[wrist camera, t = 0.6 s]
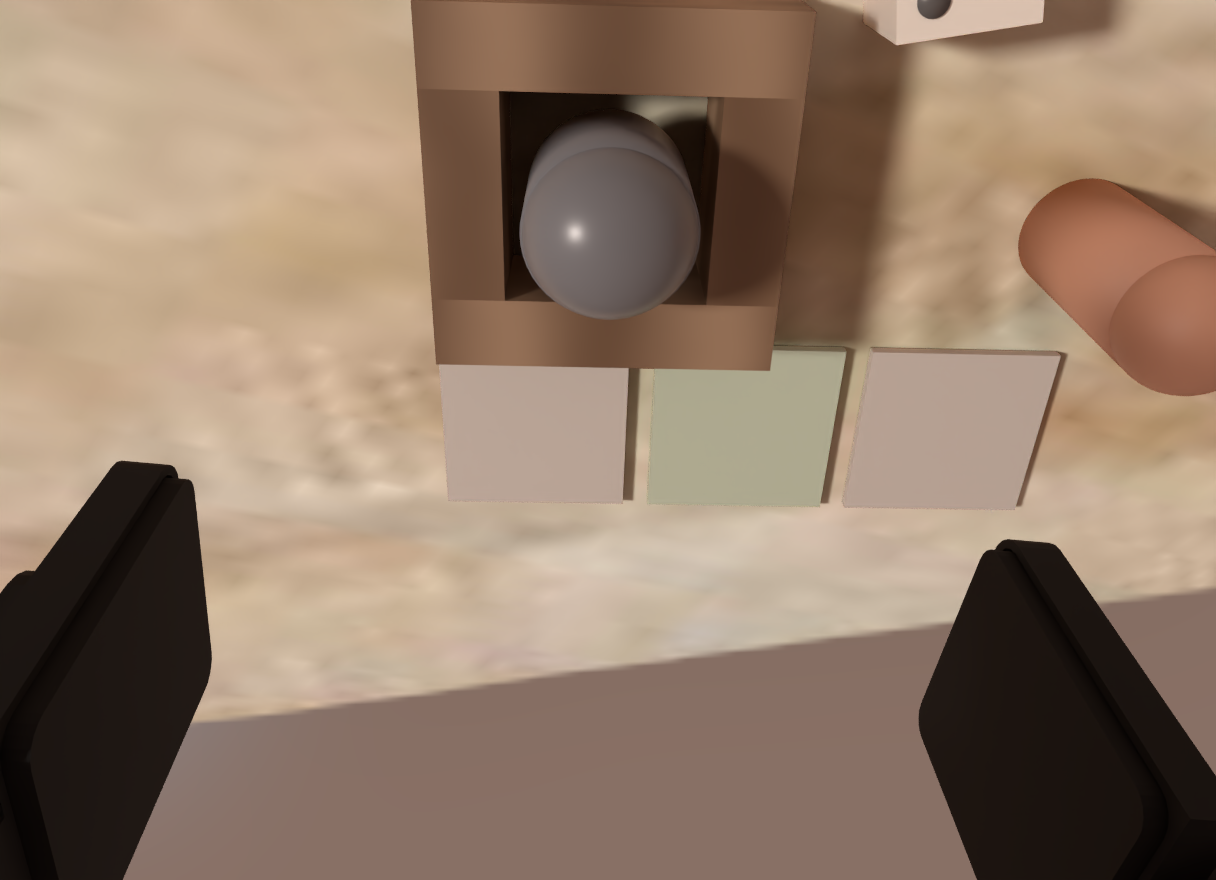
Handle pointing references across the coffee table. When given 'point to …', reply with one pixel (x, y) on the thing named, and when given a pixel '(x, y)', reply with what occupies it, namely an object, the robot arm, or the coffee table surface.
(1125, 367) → the brown rounded cylinder piece
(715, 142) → the frame
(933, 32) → the die
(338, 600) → the coffee table surface
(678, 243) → the dome
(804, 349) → the tile strip
